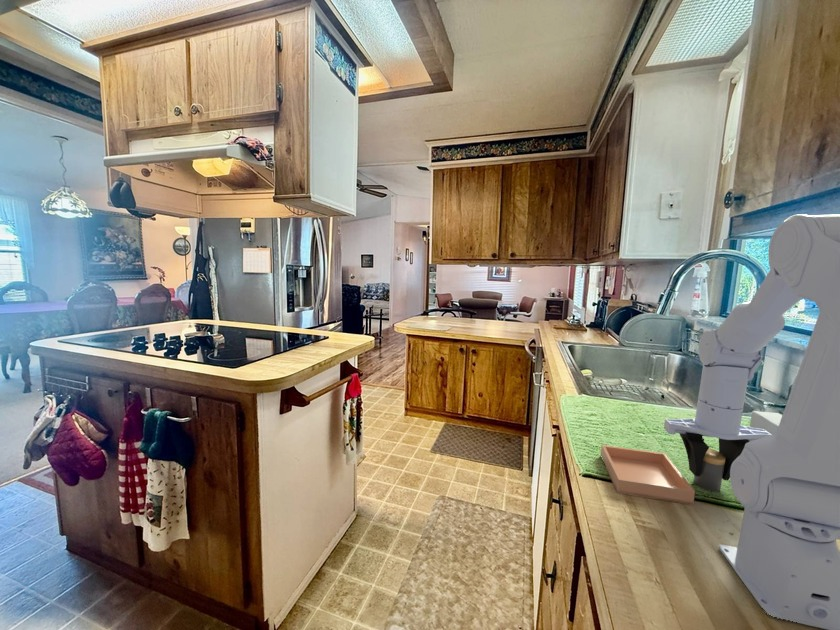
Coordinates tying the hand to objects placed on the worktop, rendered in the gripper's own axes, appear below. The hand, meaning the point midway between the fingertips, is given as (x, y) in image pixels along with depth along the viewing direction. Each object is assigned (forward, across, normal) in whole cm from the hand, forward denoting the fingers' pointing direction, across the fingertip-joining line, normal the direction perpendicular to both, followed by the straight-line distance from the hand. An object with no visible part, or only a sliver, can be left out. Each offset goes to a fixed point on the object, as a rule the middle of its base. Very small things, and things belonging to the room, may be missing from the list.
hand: (708, 474), depth 58 cm
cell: (+2, 0, 0) cm, 2 cm away
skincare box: (+2, -11, -4) cm, 12 cm away
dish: (+2, +10, +1) cm, 11 cm away
